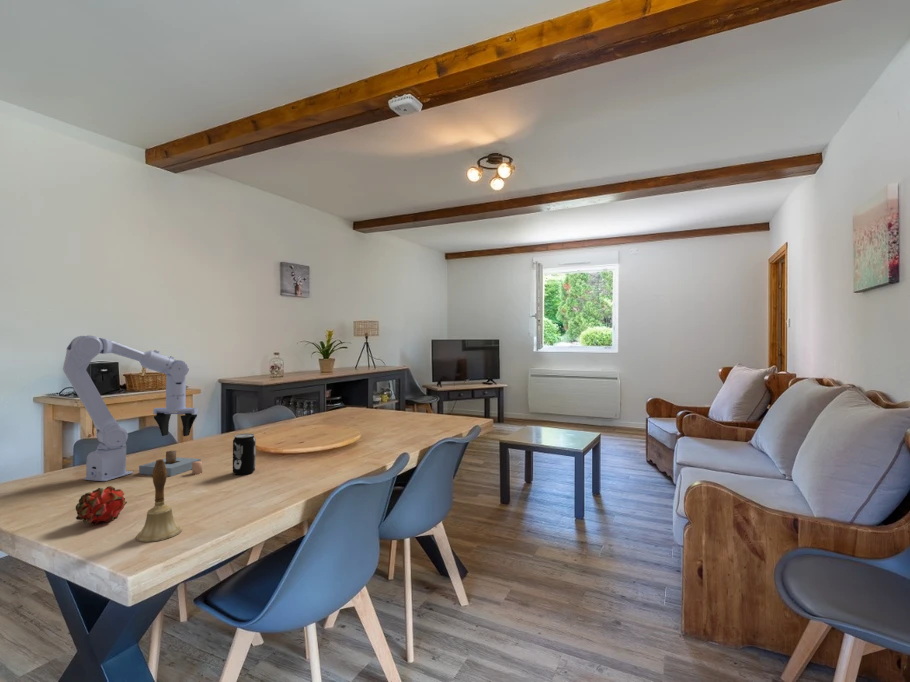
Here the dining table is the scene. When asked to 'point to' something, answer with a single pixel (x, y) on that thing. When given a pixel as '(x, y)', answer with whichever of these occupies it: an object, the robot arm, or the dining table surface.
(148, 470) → the hole block
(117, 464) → the robot arm
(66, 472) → the dining table surface
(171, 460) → the long pin
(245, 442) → the beverage can
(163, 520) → the hand bell
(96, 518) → the dragon fruit
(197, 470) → the short pin
